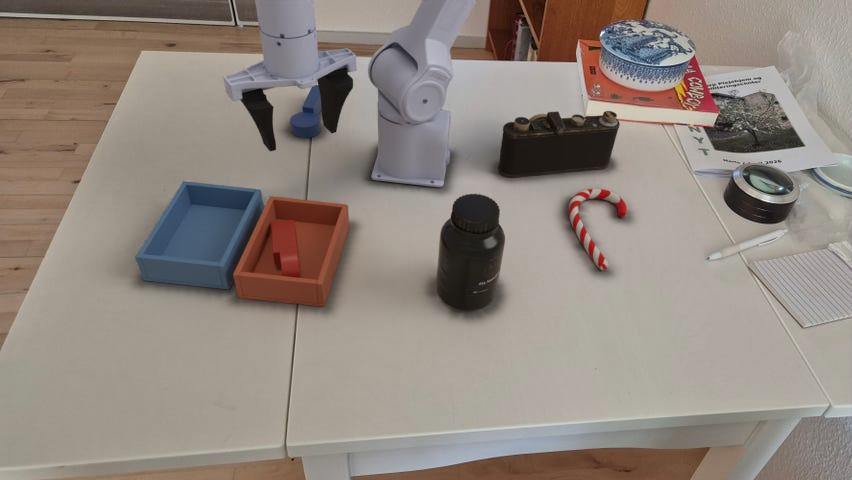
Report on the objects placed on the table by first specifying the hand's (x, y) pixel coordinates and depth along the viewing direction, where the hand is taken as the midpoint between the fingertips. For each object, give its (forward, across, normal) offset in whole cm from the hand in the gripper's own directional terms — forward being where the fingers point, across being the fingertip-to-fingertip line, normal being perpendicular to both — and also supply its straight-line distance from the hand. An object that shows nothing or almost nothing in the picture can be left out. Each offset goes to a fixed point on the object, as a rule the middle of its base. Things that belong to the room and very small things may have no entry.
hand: (300, 137), depth 79 cm
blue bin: (+8, -14, -3) cm, 16 cm away
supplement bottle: (+9, +7, -24) cm, 27 cm away
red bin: (+8, -6, -10) cm, 15 cm away
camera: (+9, +32, -10) cm, 35 cm away
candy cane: (+9, +28, -25) cm, 38 cm away
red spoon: (+6, -6, -11) cm, 14 cm away
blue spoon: (+8, +8, +15) cm, 19 cm away
